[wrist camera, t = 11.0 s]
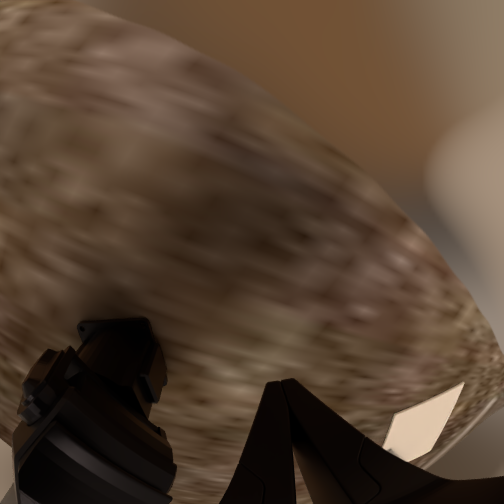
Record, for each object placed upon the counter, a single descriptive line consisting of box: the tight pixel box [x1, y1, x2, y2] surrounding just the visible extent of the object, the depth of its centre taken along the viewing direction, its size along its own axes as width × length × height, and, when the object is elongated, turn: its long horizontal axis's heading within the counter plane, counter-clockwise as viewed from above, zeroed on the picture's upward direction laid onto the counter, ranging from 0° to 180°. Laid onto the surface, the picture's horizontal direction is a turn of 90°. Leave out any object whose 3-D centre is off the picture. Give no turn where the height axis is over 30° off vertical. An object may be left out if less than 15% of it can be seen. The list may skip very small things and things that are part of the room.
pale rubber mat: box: [382, 381, 465, 462], centre depth 28 cm, size 12×17×1 cm
